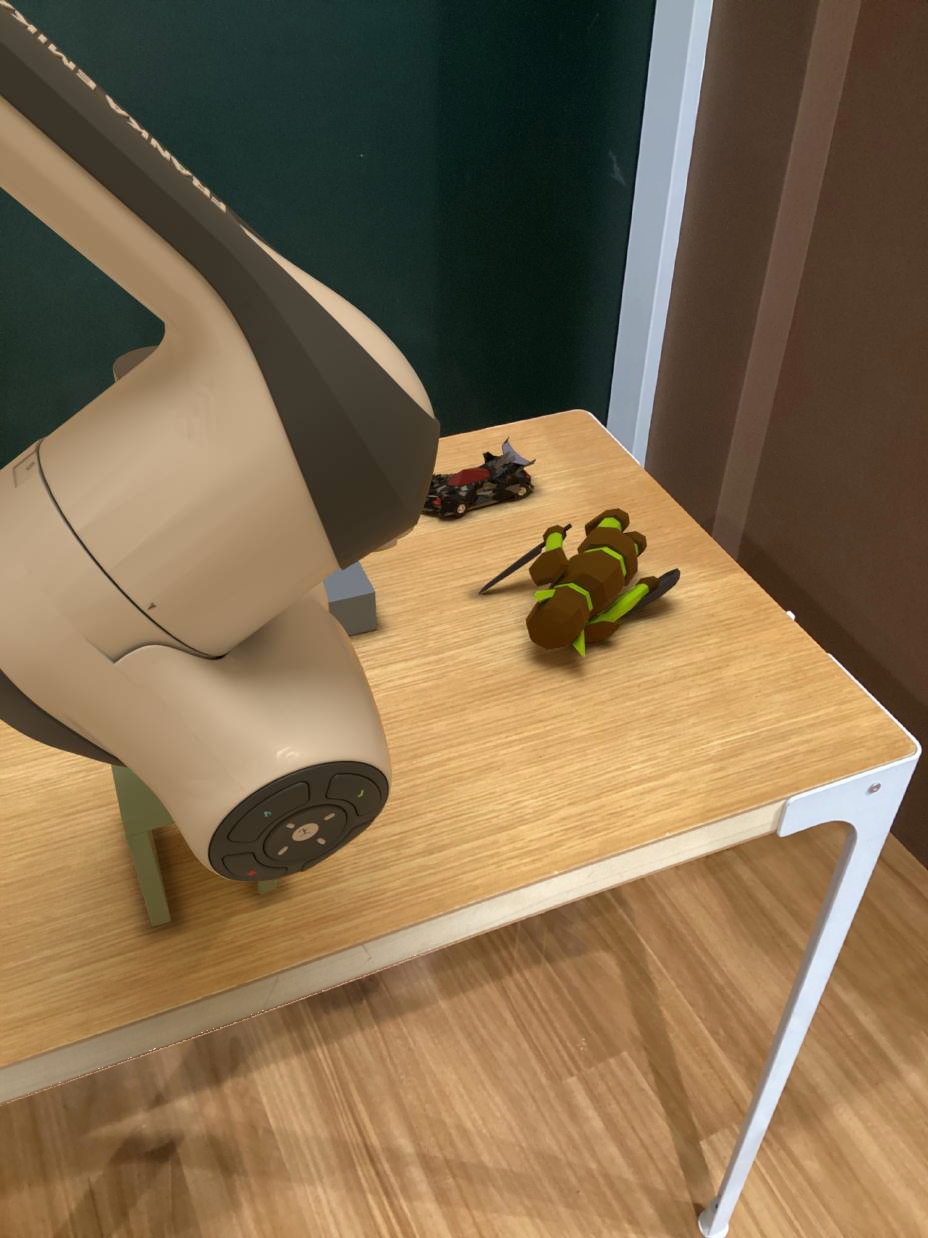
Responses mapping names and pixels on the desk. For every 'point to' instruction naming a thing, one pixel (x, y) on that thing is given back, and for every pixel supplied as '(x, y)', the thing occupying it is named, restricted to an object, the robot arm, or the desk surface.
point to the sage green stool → (149, 840)
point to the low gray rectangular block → (352, 599)
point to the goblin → (587, 582)
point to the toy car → (480, 484)
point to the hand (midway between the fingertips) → (167, 439)
